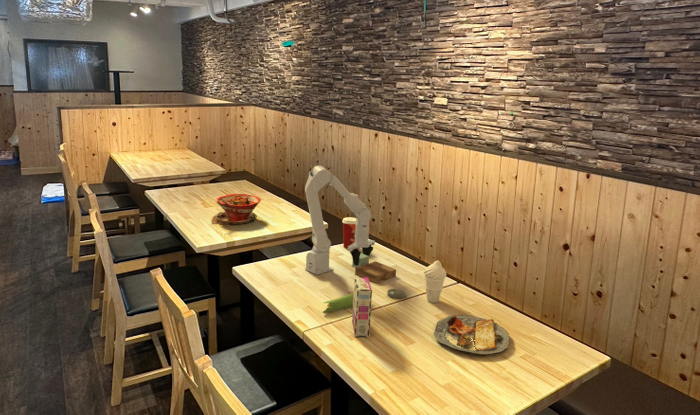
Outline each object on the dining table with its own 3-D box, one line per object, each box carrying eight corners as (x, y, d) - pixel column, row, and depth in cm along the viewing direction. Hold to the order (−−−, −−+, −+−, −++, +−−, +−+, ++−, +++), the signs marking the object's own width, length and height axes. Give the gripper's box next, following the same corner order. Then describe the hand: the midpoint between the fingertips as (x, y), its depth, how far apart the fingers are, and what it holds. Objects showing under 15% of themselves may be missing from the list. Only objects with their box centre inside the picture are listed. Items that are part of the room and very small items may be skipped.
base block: (375, 283, 215) (376, 276, 214) (355, 274, 223) (355, 267, 222) (395, 276, 223) (396, 269, 222) (375, 267, 231) (375, 261, 230)
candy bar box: (370, 337, 171) (372, 290, 167) (354, 337, 171) (356, 290, 167) (366, 321, 182) (368, 276, 178) (351, 321, 182) (353, 276, 177)
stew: (233, 230, 274) (233, 200, 270) (201, 222, 287) (200, 193, 283) (270, 219, 297) (270, 191, 293) (238, 211, 310) (238, 184, 306)
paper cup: (355, 250, 252) (356, 222, 249) (339, 248, 254) (340, 220, 250) (358, 245, 260) (359, 217, 256) (343, 243, 261) (344, 216, 257)
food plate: (440, 315, 189) (441, 306, 188) (508, 327, 182) (509, 317, 181) (429, 351, 166) (430, 341, 164) (507, 366, 159) (508, 355, 158)
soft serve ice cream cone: (430, 306, 195) (433, 265, 191) (417, 298, 202) (420, 258, 198) (448, 303, 199) (452, 262, 195) (435, 294, 206) (438, 255, 202)
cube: (360, 269, 228) (360, 258, 227) (352, 266, 232) (352, 255, 231) (368, 267, 232) (369, 256, 231) (360, 263, 235) (361, 253, 234)
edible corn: (371, 294, 194) (364, 286, 197) (323, 307, 183) (317, 299, 186) (368, 305, 196) (361, 297, 200) (321, 318, 186) (315, 310, 189)
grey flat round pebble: (397, 301, 200) (397, 297, 199) (383, 295, 204) (383, 291, 204) (409, 296, 204) (409, 292, 204) (395, 290, 209) (395, 287, 209)
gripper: (356, 239, 220) (354, 270, 224) (380, 232, 230) (378, 262, 234) (344, 235, 225) (343, 265, 229) (368, 229, 235) (367, 258, 238)
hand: (360, 263), depth 232 cm, fingers closed on cube, 5 cm apart
